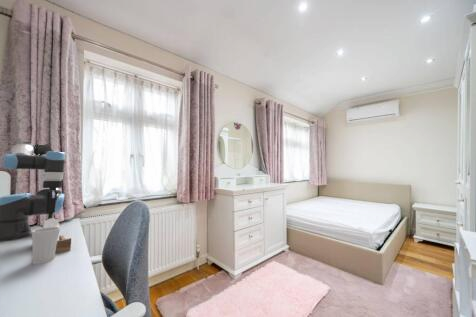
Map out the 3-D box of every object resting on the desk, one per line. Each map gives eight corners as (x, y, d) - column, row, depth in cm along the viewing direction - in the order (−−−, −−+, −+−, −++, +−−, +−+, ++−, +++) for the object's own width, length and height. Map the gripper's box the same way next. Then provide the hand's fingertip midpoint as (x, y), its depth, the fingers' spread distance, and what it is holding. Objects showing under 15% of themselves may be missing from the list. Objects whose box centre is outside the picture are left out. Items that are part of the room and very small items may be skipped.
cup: (24, 266, 71) (27, 233, 72) (34, 258, 78) (37, 228, 79) (53, 262, 75) (55, 230, 76) (60, 255, 82) (62, 226, 83)
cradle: (33, 244, 94) (34, 234, 94) (62, 239, 102) (62, 229, 102) (37, 257, 79) (38, 244, 80) (70, 250, 87) (71, 238, 88)
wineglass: (47, 246, 92) (49, 220, 93) (37, 245, 93) (40, 220, 94) (60, 242, 97) (62, 218, 99) (51, 241, 99) (53, 217, 100)
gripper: (42, 180, 104) (37, 225, 102) (44, 180, 96) (39, 229, 93) (60, 180, 110) (56, 222, 107) (64, 180, 101) (60, 226, 99)
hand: (48, 225), depth 100 cm, fingers closed
